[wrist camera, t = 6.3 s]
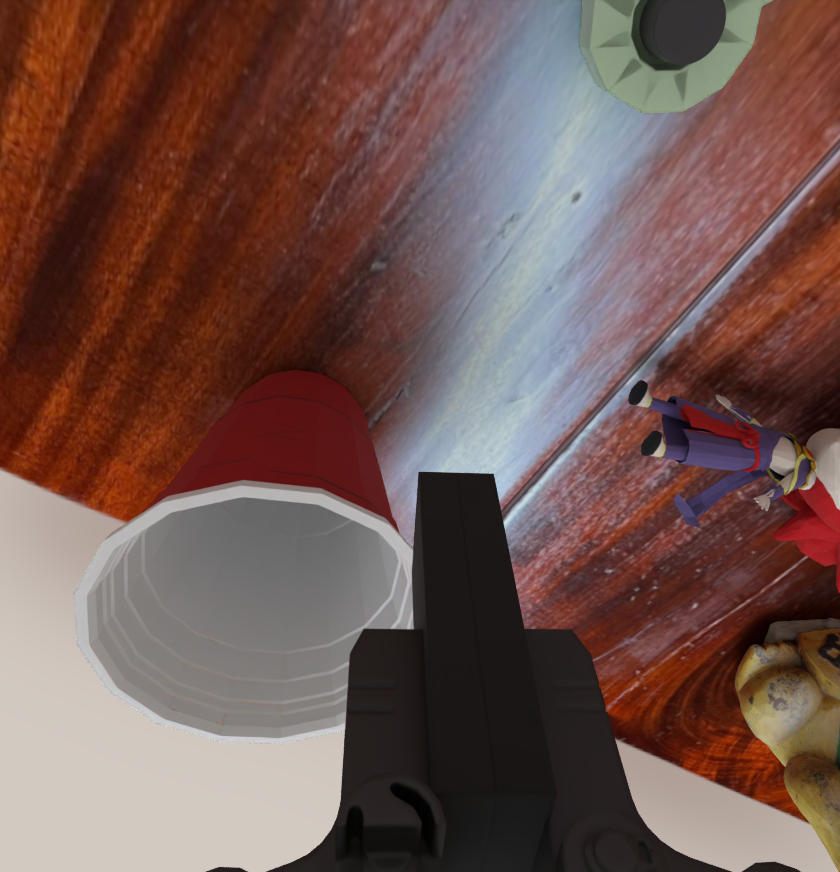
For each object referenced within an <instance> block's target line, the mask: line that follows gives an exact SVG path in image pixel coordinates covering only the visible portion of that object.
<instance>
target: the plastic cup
mask: <svg viewBox="0 0 840 872" xmlns="http://www.w3.org/2000/svg"><path fill="white" fill-rule="evenodd" d="M412 561H413V548H412V547H411V546H410V544H409V543H408V542H407V541H406V540H405V539H404V538H403V537H402V536H401V535H400V533H399V530H398V527H397V524H396V521H395V520H394V519H393V517H392V513H391V510H390V506H389V502H388V498H387V494H386V490H385V486H384V483H383V479H382V475H381V471H380V467H379V464H378V460H377V457H376V453H375V449H374V446H373V443H372V441H371V436H370V432H369V428H368V425H367V421H366V418H365V414H364V411H363V410H362V409H361V407H360V404H359V403H358V402H357V401H356V400H355V398H354V397H353V396H352V395H351V394H350V392H349V391H348V390H347V389H346V388H345V386H343V385H341V384H339V383H337V382H336V381H334V380H332V379H330V378H328V377H327V376H325V375H323V374H320V373H314V372H308V371H302V370H296V369H294V370H289V371H283V372H278V373H272V374H269V375H267V376H266V377H264V378H262V379H261V380H259V381H258V382H256V383H255V384H253V385H251V386H250V387H249V388H248V389H246V390H244V391H243V392H242V393H241V394H240V396H239V397H238V398H237V400H236V401H235V402H234V404H233V405H232V406H231V408H230V409H229V410H228V412H227V413H226V415H225V416H223V417H222V418H220V419H218V421H217V422H216V423H215V425H214V426H213V427H212V429H211V430H210V431H209V433H208V434H207V435H206V437H205V438H204V439H203V441H202V442H201V443H200V445H199V446H198V447H197V448H196V450H195V451H194V452H193V454H192V455H191V456H190V458H189V459H188V460H187V462H186V463H185V464H184V466H183V467H182V468H181V470H180V471H179V472H178V474H177V475H176V476H175V478H174V479H173V480H172V481H171V483H170V484H169V485H168V487H167V488H166V489H165V490H163V491H162V492H160V493H159V494H158V495H157V497H156V498H155V500H154V501H153V502H152V504H151V505H150V507H148V508H146V509H145V510H143V511H142V513H141V514H140V515H138V516H137V517H135V518H134V519H132V520H131V521H129V522H128V523H126V524H124V525H123V526H122V527H120V528H118V529H117V530H115V531H114V532H112V533H111V534H110V535H109V536H108V537H107V538H106V539H105V540H104V541H103V542H102V544H101V546H100V547H99V549H98V551H97V553H96V554H95V556H94V558H93V560H92V562H91V563H90V565H89V567H88V568H87V570H86V572H85V574H84V576H83V577H82V579H81V581H80V583H79V584H78V586H77V588H76V590H75V591H74V605H75V622H76V637H77V646H78V648H79V649H80V651H81V652H82V653H83V655H84V657H85V658H86V660H87V661H88V663H89V664H90V665H91V667H92V668H93V670H94V671H95V673H96V674H97V676H98V677H99V679H100V680H101V682H102V683H103V685H104V686H105V688H106V689H107V691H109V692H110V693H112V694H113V695H115V696H116V697H118V698H119V699H121V700H122V701H124V702H125V703H127V704H128V705H130V706H131V707H133V708H134V709H136V710H137V711H139V712H140V713H142V714H143V715H145V716H146V717H148V718H149V719H151V720H152V721H154V722H156V723H157V724H160V725H163V726H167V727H170V728H173V729H177V730H180V731H183V732H187V733H190V734H194V735H197V736H200V737H204V738H207V739H210V740H214V741H217V742H241V743H267V744H284V743H289V742H294V741H298V740H303V739H308V738H313V737H317V736H322V735H327V734H331V733H337V732H341V731H344V730H345V723H346V708H347V690H348V674H349V657H350V652H351V650H352V649H353V647H354V645H355V643H356V641H357V640H358V638H359V636H360V634H361V632H362V631H363V629H414V626H413V595H412Z"/></svg>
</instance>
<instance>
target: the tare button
mask: <svg viewBox="0 0 840 872" xmlns="http://www.w3.org/2000/svg"><path fill="white" fill-rule="evenodd" d="M725 22H726V7H725V3H724V1H723V0H648V1H647V3H646V5H645V7H644V9H643V11H642V14H641V18H640V25H639V31H640V38H641V41H642V43H643V45H644V47H645V49H646V50H647V51H648V52H649V53H650V54H651V55H653V56H654V57H657V58H659V59H662V60H665V61H667V62H670V63H673V64H676V65H688V64H692V63H695V62H697V61H699V60H701V59H702V58H704V57H705V56H707V55H708V54H709V53H710V52H711V51H712V50H713V49H714V47H715V46H716V45H717V43H718V41H719V40H720V38H721V36H722V33H723V31H724V27H725Z"/></svg>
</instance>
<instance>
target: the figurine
mask: <svg viewBox="0 0 840 872" xmlns="http://www.w3.org/2000/svg"><path fill="white" fill-rule="evenodd" d="M680 394H681V393H680ZM715 396H716V395H715ZM716 397H717V398H716V399H717V400H718V401H719V403H721V404H722V405H724V406H725V407H726V408H727V409H728V410H730V411H731V412H732V413H733V414H734V415H735V416H736V417H737V418H738V419H739V420H740V421H742V422H739V421H735V420H733V419H731V418H729V417H728V416H725V415H722V414H720V413H717V412H715V411H712V410H710V409H707V408H704V407H702V406H699V405H697V404H694V403H692V402H689V401H686V400H684V399H682V396H681V398H679V397H676V396H672V397H670V398H669V399H668V401H667V402H666V401H663V400H660V399H656V398H653V397H652V396H651V395H650V394H649V389H648V384H647V383H646V382H644V381H638V383H637V384H636V385H635V386H634V387H633V388H632V390H631V392H630V394H629V399H628V401H629V404H631V405H637V406H643V407H646V408H649V409H652V410H654V411H657V412H660V413H662V414H663V416H662V422H663V430H664V434H665V438H666V441H667V444H665V443H663V438H662V434H661V433H660V432H658V431H653V432H652V433H651V434H650V435H649V436H648V437H647V438H646V439H645V440H644V442H643V443H642V445H641V453H642V455H644V456H657V457H662V458H668V459H673V460H676V461H677V462H679V463H681V464H687V465H693V466H699V467H706V468H712V469H722V470H732V471H736V470H741V471H739V472H736V473H734V474H732V475H729V476H727V477H724V478H723V479H721V480H720V481H719V482H717V483H716V484H714V485H713V486H711V487H710V488H708V489H707V490H706V491H704V492H703V493H701V494H700V495H698V496H696V497H694V498H691V499H689V500H687V501H684V500H683V499H682V498H681V496H680V495H679V494H678V493H677V495H676V497H675V499H674V502H675V504H676V506H677V508H678V510H679V511H680V512H681V514H682V515H683V517H684V519H685V522H686V524H688V525H692V526H696V527H699V525H698V522H697V519H696V518H698V517H699V516H700V515H702V514H703V513H705V512H706V511H707V510H708V509H709V508H711V507H712V506H713V505H714V504H715V503H716V502H718V501H719V500H720V499H721V498H722V497H724V496H725V495H726V494H727V493H729V492H731V491H733V490H735V489H737V488H739V487H741V486H743V485H746V484H748V483H750V482H752V481H754V480H756V479H758V478H760V477H762V476H770V478H773V479H775V481H776V483H777V484H775V485H773V486H770V488H769V489H768V490H767V491H766V492H765V493H764V494H763V495H761V496H758V497H756V498H754V499H755V500H756V502H757V503H759V506H761V509H762V510H763V509H764V508H765V510H766V511H768V508H769V505H770V502H771V501H773V500H775V499H777V498H778V497H781V498H782V500H784V501H785V502H786V503H787V504H788V505H789V506H791V507H792V508H793V509H795V510H797V511H799V512H798V513H797V514H795V515H794V516H793V517H792V518H790V519H789V520H788V521H787V522H785V523H784V524H783V525H782V526H781V527H779V528H778V529H777V531H776V532H775V533H774V536H773V539H775V540H780V541H790V540H795V542H796V544H797V547H798V548H799V550H800V551H801V552H802V553H804V554H805V555H806V556H808V557H810V558H811V559H813V560H815V561H817V562H818V563H820V564H822V565H824V566H828V565H832V564H837V571H836V585H837V589H838V592H839V593H840V429H834V428H828V429H822V430H820V431H818V432H816V433H815V434H813V435H812V436H811V437H810V438H809V440H808V442H807V444H806V445H805V446H803V445H802V447H801V445H800V444H799V442H798V441H797V439H796V437H795V436H794V435H792V434H791V433H786V432H783V431H780V430H777V429H775V428H772V427H769V426H761V425H760V424H759V423H758V422H757V420H756V419H755V418H753V417H752V416H751V415H750V414H748V413H746V412H744V411H743V410H741V409H739V408H737V407H735V406H733V405H732V404H731V402H730V401H729V400H728V399H726V398H725V397H724V396H723V397H721V396H720V395H719V394H718V395H717V396H716Z"/></svg>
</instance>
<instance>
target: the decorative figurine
mask: <svg viewBox="0 0 840 872" xmlns="http://www.w3.org/2000/svg"><path fill="white" fill-rule="evenodd" d="M735 687H736V690H737V694H738V697H739V701H740V706H741V711H742V714H743V716H744V718H745V720H746V722H747V724H748V726H749V727H750V729H751V730H752V732H753V733H754V735H755V736H756V737H758V738H759V739H760V740H762V741H763V742H764V743H766V744H767V745H768V747H769V748H770V749H771V751H772V752H773V753H774V754H775V755H776V757H777V758H778V759H779V760H780V761H781V763H782V764H783V765H784V766H785V771H784V782H785V785H786V788H787V790H788V792H789V794H790V796H791V798H792V799H793V801H794V802H795V804H796V805H797V807H798V808H799V810H800V811H801V813H802V814H803V815H804V816H805V817H806V819H807V820H808V821H809V822H810V824H811V825H812V827H813V828H814V830H815V831H816V833H817V834H818V836H819V838H820V839H821V841H822V843H823V844H824V846H825V848H826V849H827V851H828V853H829V855H830V856H831V858H832V860H833V862H834V864H835V866H836V867H837V869H838V871H839V872H840V619H834V618H828V619H822V620H799V621H797V620H795V621H777V622H774V623H772V624H770V627H769V630H768V633H767V635H766V637H765V641H764V643H763V644H761V645H758V644H753V645H751V646H750V647H749V648H748V650H747V651H746V653H745V655H744V657H743V659H742V661H741V662H740V664H739V666H738V669H737V673H736V677H735Z"/></svg>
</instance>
